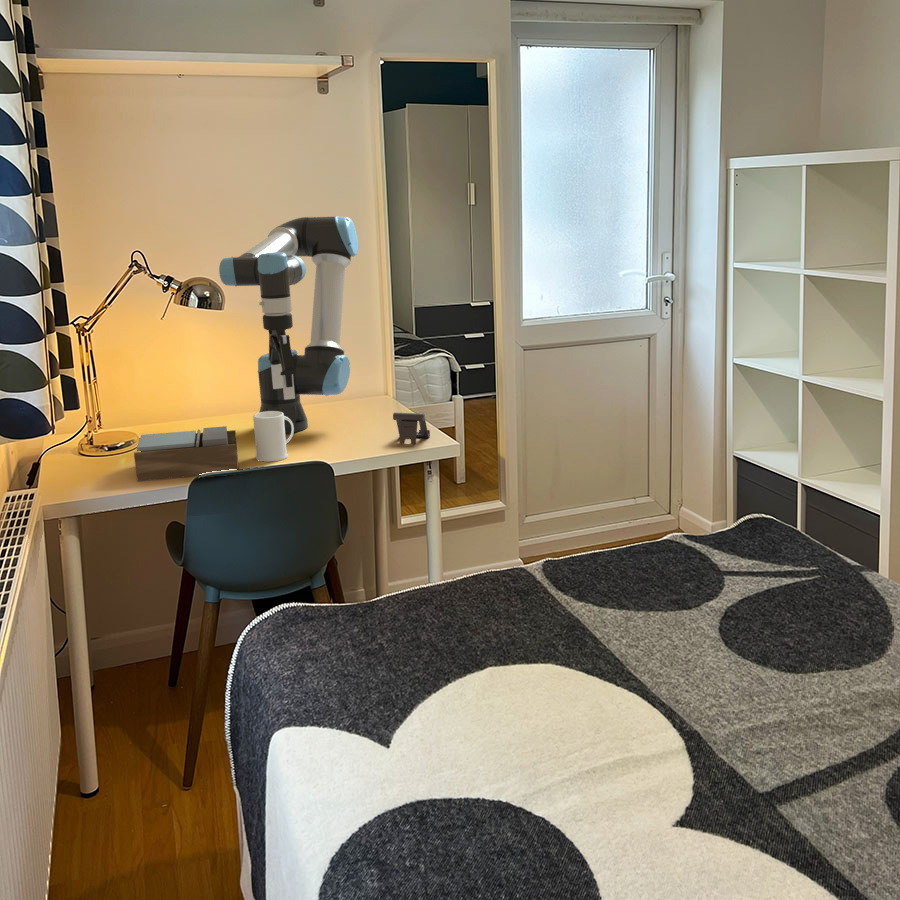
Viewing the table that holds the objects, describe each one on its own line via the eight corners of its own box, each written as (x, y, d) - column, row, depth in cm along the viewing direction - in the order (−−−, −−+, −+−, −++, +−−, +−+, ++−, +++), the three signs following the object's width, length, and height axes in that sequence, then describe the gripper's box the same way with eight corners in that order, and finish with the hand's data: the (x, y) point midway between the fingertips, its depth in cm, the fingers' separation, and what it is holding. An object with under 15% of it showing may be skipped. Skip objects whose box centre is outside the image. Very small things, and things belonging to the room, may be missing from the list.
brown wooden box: (142, 464, 264) (138, 434, 261) (237, 456, 268) (235, 426, 266) (137, 481, 249) (133, 449, 247) (238, 472, 254) (235, 441, 251)
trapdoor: (228, 447, 266) (226, 426, 264) (228, 460, 254) (226, 438, 252) (143, 454, 262) (140, 433, 260) (139, 468, 249) (136, 445, 248)
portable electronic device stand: (430, 437, 282) (429, 408, 280) (423, 444, 275) (421, 415, 272) (401, 436, 284) (400, 407, 282) (392, 443, 277) (391, 414, 275)
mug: (289, 449, 274) (285, 407, 271) (304, 455, 268) (301, 412, 264) (250, 457, 267) (246, 414, 264) (264, 463, 261) (261, 419, 257)
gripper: (253, 308, 265) (260, 385, 271) (272, 321, 242) (279, 405, 248) (280, 306, 267) (287, 382, 273) (302, 318, 245) (309, 401, 251)
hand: (283, 393), depth 261 cm, fingers open, 13 cm apart
